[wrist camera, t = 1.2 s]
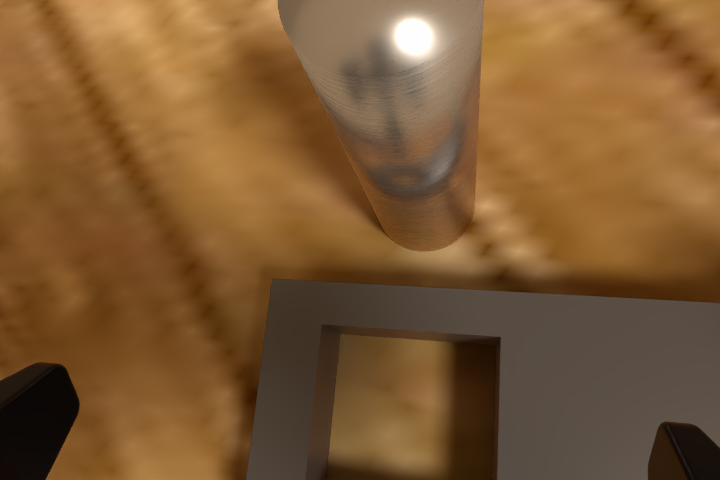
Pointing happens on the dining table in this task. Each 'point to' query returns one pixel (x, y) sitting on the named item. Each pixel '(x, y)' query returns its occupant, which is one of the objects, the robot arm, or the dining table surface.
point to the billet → (400, 104)
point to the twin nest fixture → (499, 373)
